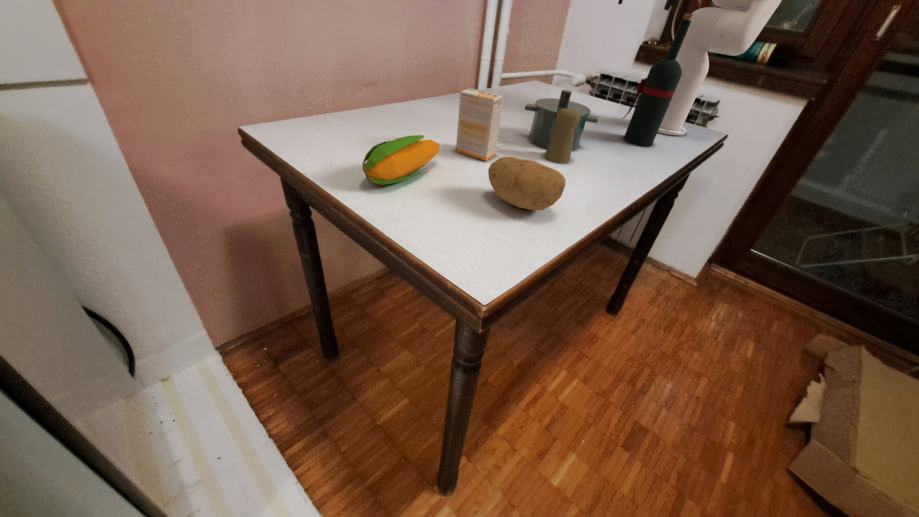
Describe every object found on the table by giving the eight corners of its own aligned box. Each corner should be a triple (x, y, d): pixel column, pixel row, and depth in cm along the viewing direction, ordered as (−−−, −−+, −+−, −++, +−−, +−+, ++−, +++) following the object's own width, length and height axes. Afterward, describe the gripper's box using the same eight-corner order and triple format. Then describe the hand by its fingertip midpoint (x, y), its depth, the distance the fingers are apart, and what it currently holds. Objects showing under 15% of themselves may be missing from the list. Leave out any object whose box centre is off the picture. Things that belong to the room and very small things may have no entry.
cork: (570, 165, 84) (585, 116, 77) (544, 160, 84) (556, 111, 78) (569, 155, 88) (583, 108, 82) (544, 151, 89) (556, 104, 82)
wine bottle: (620, 132, 107) (665, 10, 89) (655, 142, 103) (710, 16, 84) (611, 137, 102) (656, 9, 84) (647, 149, 98) (704, 16, 79)
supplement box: (495, 155, 84) (505, 95, 76) (485, 161, 80) (494, 99, 72) (465, 145, 87) (472, 87, 79) (454, 151, 84) (460, 90, 76)
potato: (499, 183, 73) (506, 144, 68) (565, 208, 67) (578, 167, 62) (473, 200, 66) (478, 158, 61) (543, 229, 60) (555, 186, 55)
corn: (349, 142, 62) (425, 119, 75) (351, 182, 66) (421, 154, 80) (381, 159, 59) (453, 131, 72) (380, 199, 64) (448, 166, 77)
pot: (524, 128, 102) (530, 96, 97) (589, 141, 98) (599, 108, 93) (515, 142, 92) (522, 107, 87) (587, 157, 89) (598, 122, 83)
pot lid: (538, 99, 97) (542, 81, 94) (590, 109, 94) (596, 90, 91) (530, 112, 86) (534, 91, 84) (588, 123, 84) (594, 102, 81)
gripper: (724, -97, 69) (682, 11, 80) (630, -103, 72) (601, 1, 83) (735, -105, 63) (688, 13, 74) (632, -112, 67) (601, 2, 77)
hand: (642, 7), depth 78 cm, fingers open, 9 cm apart
